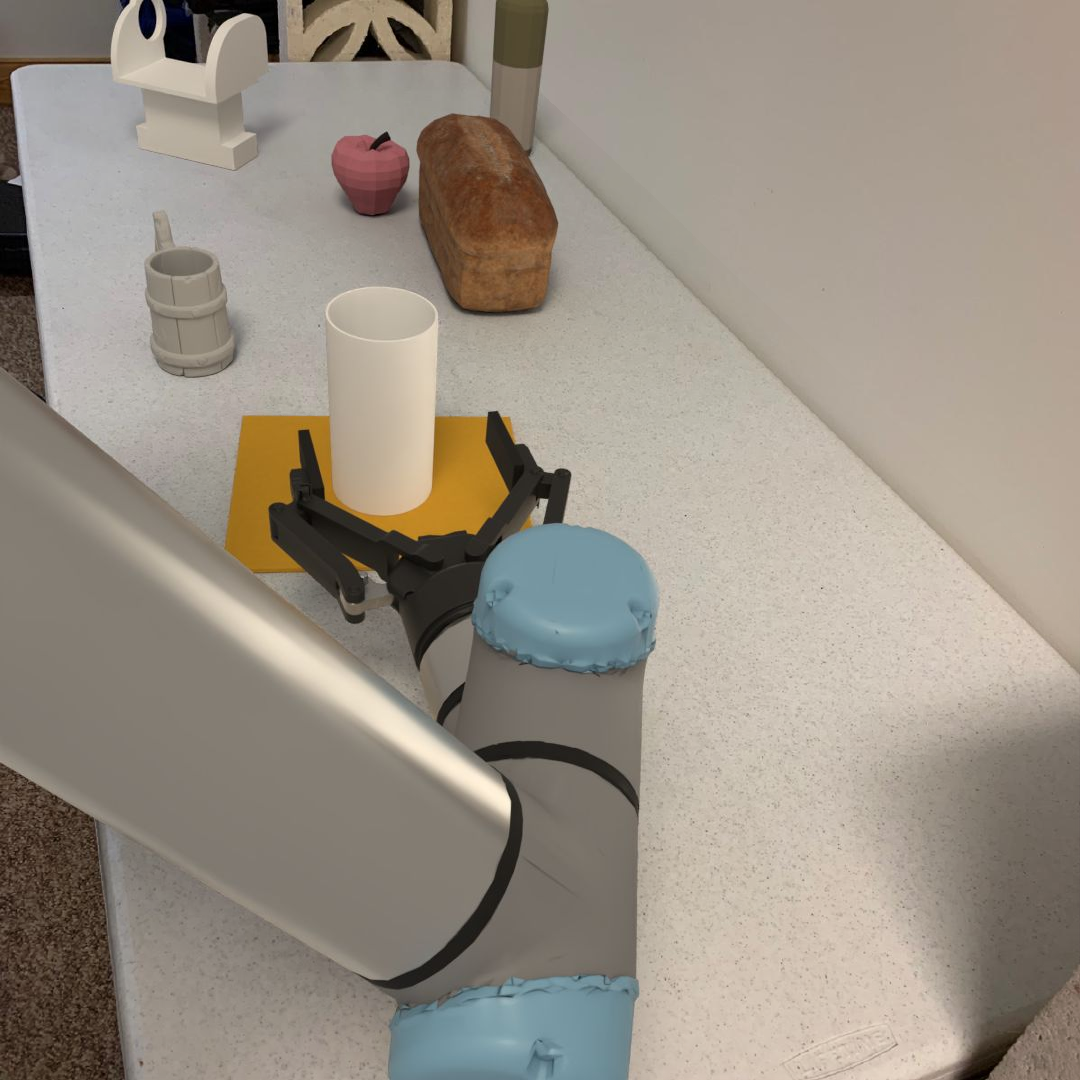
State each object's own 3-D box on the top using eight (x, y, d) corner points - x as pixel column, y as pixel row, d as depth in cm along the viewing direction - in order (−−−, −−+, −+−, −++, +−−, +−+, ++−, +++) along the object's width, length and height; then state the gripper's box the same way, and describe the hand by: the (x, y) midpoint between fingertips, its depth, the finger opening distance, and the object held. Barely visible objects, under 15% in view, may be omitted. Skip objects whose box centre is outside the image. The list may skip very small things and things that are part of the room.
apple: (386, 191, 128) (387, 112, 122) (423, 218, 124) (425, 136, 117) (320, 204, 124) (316, 122, 117) (355, 232, 119) (353, 148, 112)
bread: (500, 211, 128) (510, 95, 118) (558, 320, 108) (575, 191, 98) (407, 211, 125) (409, 92, 115) (449, 324, 105) (456, 191, 95)
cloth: (222, 573, 74) (221, 569, 74) (243, 418, 89) (242, 415, 88) (539, 566, 78) (540, 563, 78) (509, 420, 93) (509, 416, 92)
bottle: (478, 144, 144) (493, -97, 124) (521, 142, 147) (543, -95, 127) (496, 163, 140) (516, -84, 120) (541, 160, 142) (567, -83, 123)
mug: (166, 386, 91) (146, 264, 83) (131, 325, 98) (109, 208, 90) (248, 369, 94) (235, 251, 87) (208, 311, 102) (194, 197, 94)
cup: (324, 461, 85) (315, 289, 74) (418, 449, 87) (423, 282, 77) (342, 522, 79) (336, 346, 68) (443, 508, 82) (451, 337, 71)
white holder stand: (126, 154, 129) (100, 1, 117) (181, 125, 138) (162, -20, 126) (224, 177, 126) (208, 24, 115) (274, 145, 136) (263, 0, 124)
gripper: (261, 734, 55) (225, 497, 70) (666, 658, 63) (557, 458, 77) (249, 643, 50) (213, 408, 65) (691, 572, 58) (569, 376, 73)
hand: (400, 435), depth 71 cm, fingers open, 13 cm apart
